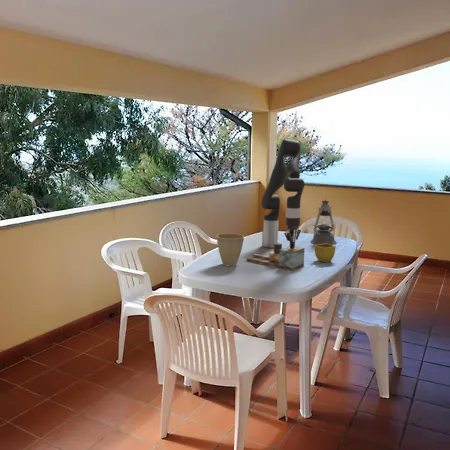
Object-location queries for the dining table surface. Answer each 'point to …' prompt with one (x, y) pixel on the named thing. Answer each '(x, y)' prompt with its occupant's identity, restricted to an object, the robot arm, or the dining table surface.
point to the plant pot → (230, 248)
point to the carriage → (275, 252)
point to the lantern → (323, 226)
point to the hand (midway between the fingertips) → (292, 248)
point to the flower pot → (324, 252)
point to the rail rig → (282, 259)
